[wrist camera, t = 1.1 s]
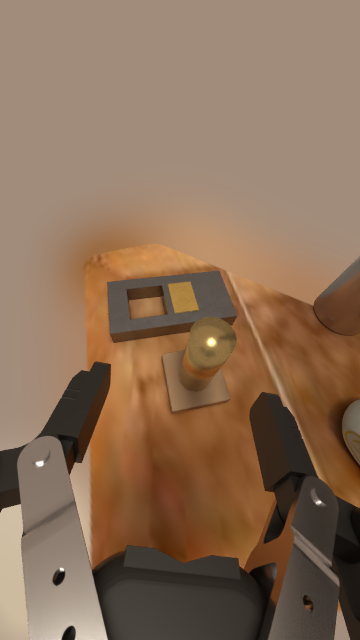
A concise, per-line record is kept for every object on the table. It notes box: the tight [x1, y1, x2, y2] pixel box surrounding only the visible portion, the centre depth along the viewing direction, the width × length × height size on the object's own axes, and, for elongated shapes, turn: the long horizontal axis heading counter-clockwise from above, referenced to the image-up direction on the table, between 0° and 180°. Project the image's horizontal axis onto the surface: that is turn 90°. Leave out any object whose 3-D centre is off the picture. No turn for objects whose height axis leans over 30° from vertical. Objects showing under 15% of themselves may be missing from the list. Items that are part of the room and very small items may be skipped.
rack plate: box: [107, 271, 237, 343], centre depth 37 cm, size 20×10×3 cm, turn 102°
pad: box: [162, 350, 231, 414], centre depth 31 cm, size 8×8×2 cm
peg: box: [179, 317, 236, 392], centre depth 25 cm, size 4×4×12 cm
